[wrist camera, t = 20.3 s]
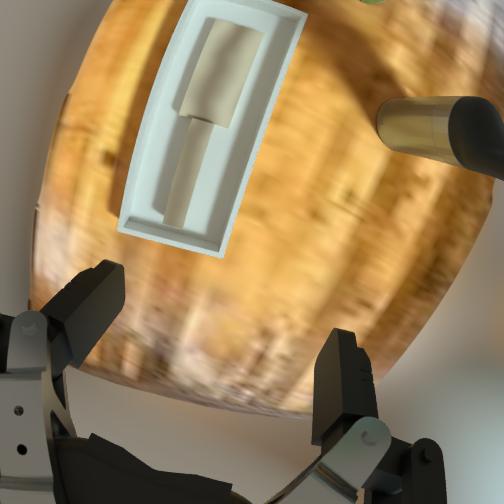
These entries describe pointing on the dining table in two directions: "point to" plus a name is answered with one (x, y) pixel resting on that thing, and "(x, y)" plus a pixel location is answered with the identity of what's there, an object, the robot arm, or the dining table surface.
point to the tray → (222, 139)
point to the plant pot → (372, 1)
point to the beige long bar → (210, 105)
